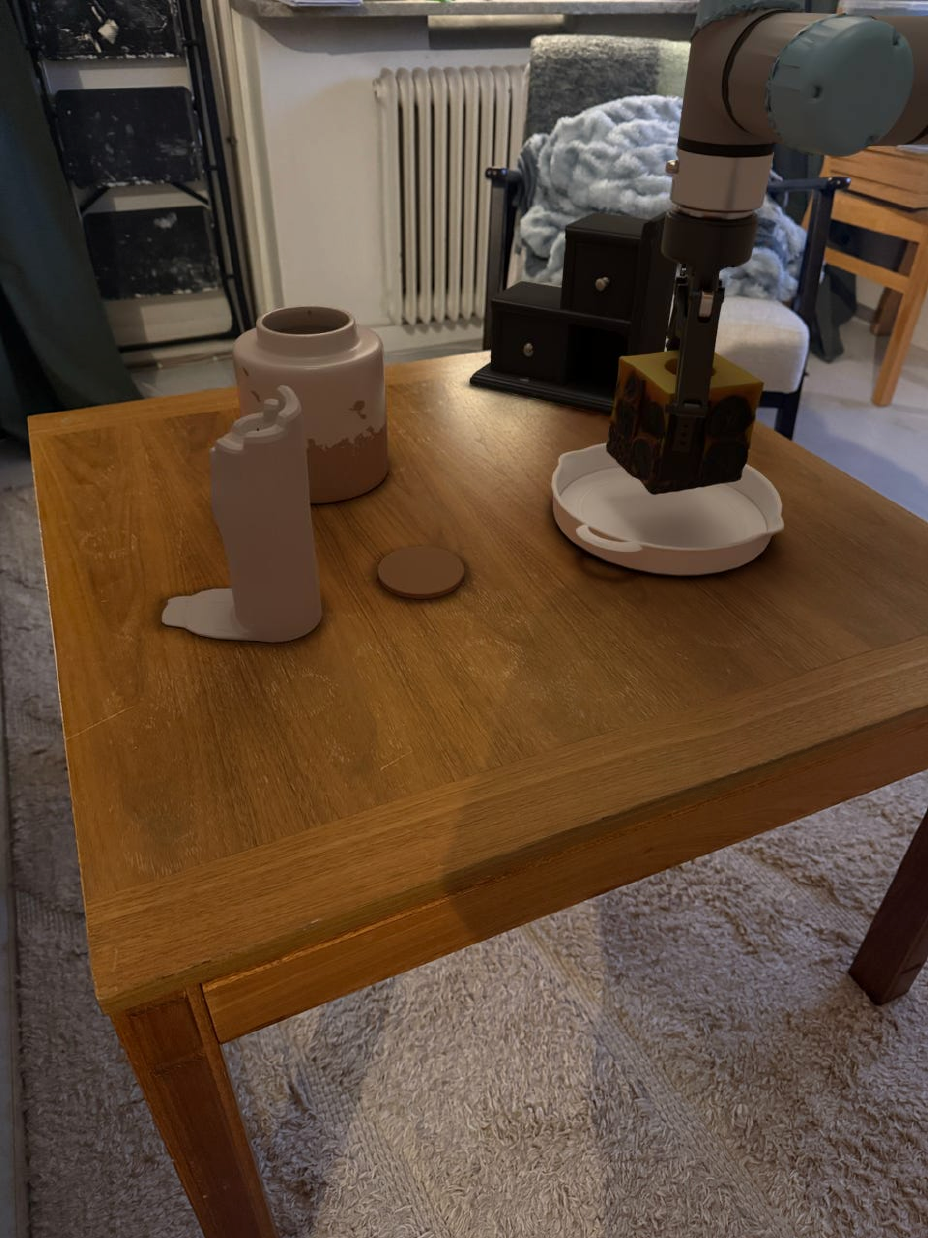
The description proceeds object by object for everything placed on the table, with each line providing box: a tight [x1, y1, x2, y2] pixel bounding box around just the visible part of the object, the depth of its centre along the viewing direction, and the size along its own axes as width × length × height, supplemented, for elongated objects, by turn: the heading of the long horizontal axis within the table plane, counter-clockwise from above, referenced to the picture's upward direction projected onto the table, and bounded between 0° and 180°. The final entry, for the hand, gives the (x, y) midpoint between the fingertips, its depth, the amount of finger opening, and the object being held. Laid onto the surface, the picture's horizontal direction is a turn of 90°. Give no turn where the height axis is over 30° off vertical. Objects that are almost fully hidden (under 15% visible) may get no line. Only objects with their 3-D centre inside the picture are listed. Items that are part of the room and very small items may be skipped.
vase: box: [231, 304, 389, 504], centre depth 91 cm, size 15×15×17 cm
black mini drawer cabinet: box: [468, 209, 679, 417], centre depth 109 cm, size 23×11×24 cm, turn 60°
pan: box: [550, 442, 785, 577], centre depth 87 cm, size 24×27×4 cm
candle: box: [606, 350, 765, 495], centre depth 82 cm, size 10×10×10 cm
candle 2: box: [161, 385, 323, 643], centre depth 68 cm, size 7×14×20 cm, turn 86°
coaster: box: [377, 545, 465, 600], centre depth 80 cm, size 8×8×1 cm
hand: (670, 446), depth 83 cm, fingers closed on candle, 13 cm apart
